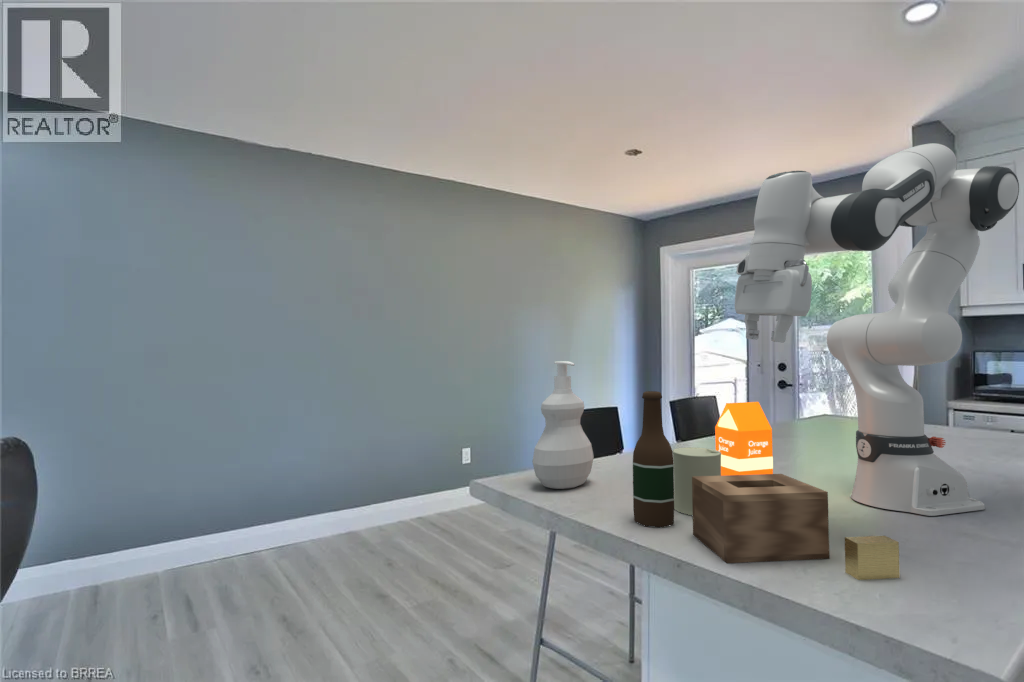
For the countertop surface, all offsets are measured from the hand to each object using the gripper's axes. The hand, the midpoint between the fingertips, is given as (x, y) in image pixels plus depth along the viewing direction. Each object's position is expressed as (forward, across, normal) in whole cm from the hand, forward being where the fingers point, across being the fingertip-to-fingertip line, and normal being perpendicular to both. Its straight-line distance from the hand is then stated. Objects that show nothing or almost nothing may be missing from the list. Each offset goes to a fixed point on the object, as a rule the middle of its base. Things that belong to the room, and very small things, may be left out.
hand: (764, 340), depth 94 cm
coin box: (+33, -12, +2) cm, 35 cm away
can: (+35, +8, +4) cm, 36 cm away
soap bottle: (+40, +29, +28) cm, 57 cm away
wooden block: (+31, -23, -8) cm, 39 cm away
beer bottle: (+36, +2, +15) cm, 39 cm away
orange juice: (+34, +19, -10) cm, 40 cm away
